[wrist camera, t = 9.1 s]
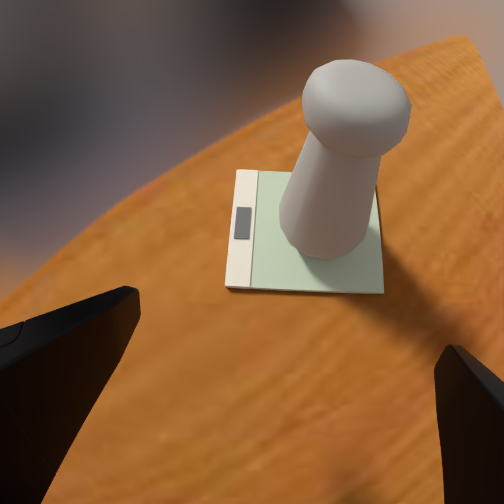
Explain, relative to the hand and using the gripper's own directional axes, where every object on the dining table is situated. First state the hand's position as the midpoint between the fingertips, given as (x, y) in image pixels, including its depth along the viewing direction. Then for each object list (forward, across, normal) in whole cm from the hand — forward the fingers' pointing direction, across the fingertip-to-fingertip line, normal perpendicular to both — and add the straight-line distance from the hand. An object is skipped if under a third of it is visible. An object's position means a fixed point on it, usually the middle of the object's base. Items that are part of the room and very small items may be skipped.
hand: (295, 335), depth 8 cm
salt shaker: (+15, -1, +2) cm, 15 cm away
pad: (+15, -1, +2) cm, 15 cm away
